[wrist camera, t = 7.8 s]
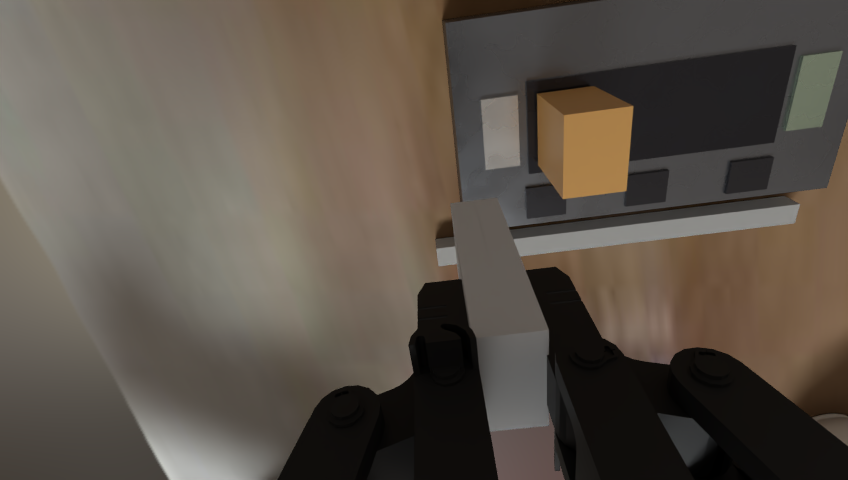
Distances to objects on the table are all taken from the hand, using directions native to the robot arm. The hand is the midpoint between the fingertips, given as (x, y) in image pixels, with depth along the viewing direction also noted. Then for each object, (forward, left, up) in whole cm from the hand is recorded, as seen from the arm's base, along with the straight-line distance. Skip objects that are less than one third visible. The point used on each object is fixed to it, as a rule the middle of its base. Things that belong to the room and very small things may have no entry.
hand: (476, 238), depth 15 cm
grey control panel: (+11, 0, -15) cm, 19 cm away
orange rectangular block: (+6, 0, -12) cm, 13 cm away
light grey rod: (+10, -9, -15) cm, 20 cm away
